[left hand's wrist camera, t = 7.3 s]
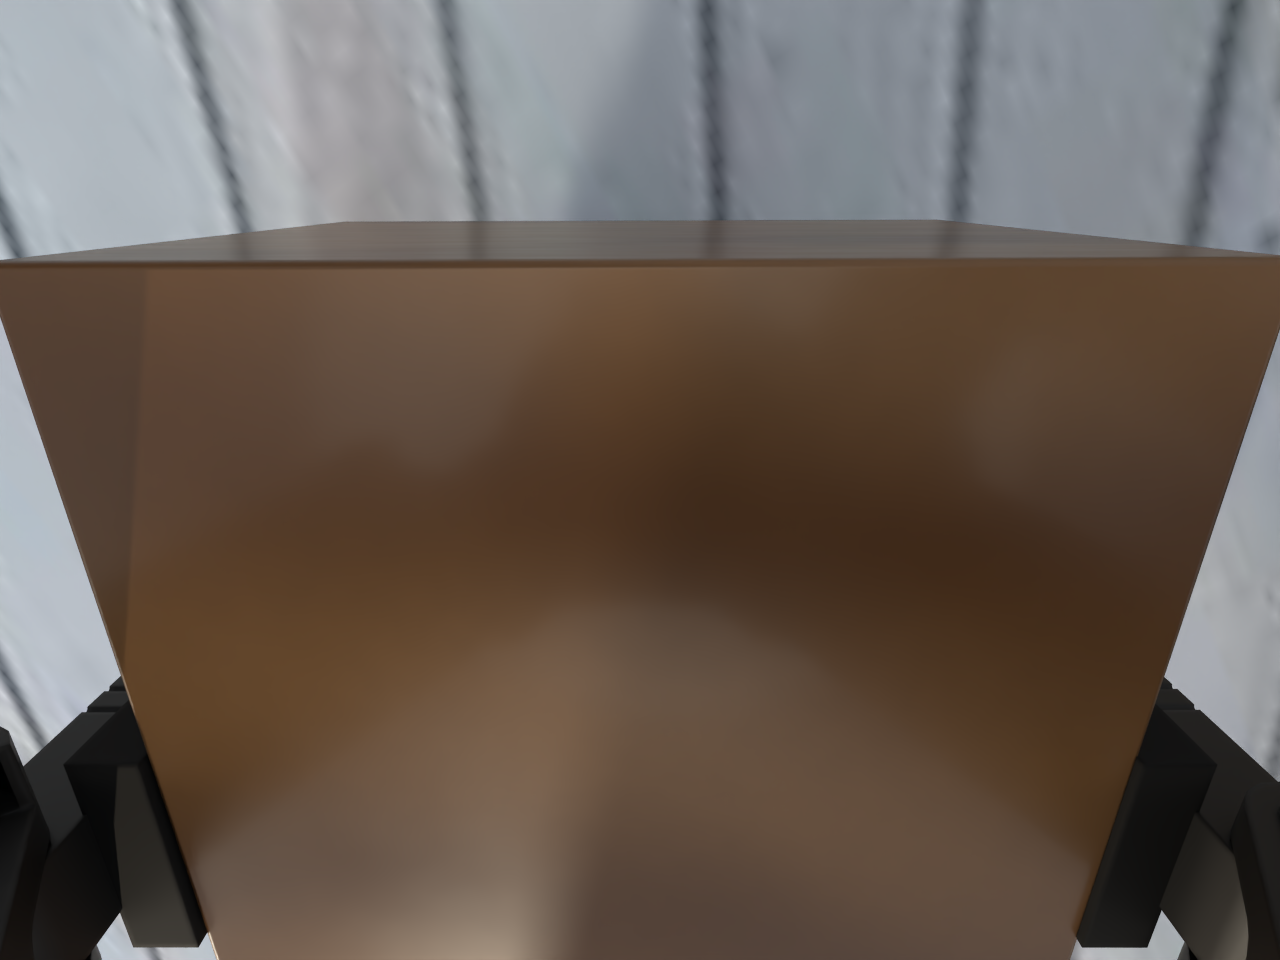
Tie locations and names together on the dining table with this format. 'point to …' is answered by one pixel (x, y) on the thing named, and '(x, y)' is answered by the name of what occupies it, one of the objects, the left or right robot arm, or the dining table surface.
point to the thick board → (642, 569)
